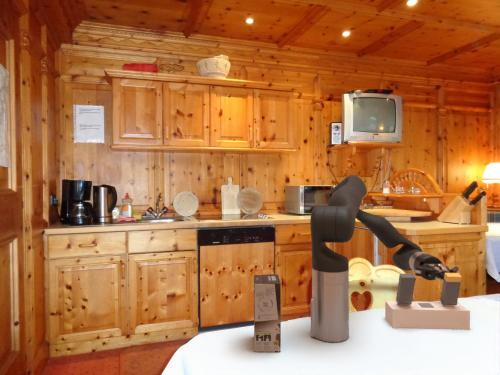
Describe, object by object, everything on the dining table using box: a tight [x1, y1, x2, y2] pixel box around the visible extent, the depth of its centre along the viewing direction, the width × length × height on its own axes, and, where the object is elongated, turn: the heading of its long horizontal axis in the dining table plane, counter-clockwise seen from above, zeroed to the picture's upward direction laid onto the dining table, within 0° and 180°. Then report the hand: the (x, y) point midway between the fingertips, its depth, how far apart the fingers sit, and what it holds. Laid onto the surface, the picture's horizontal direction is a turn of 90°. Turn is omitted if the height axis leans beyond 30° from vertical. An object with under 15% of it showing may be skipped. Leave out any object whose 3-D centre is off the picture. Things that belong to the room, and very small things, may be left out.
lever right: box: [439, 272, 462, 305], centre depth 101 cm, size 4×2×9 cm, turn 86°
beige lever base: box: [384, 300, 471, 330], centre depth 103 cm, size 20×7×5 cm, turn 85°
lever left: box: [395, 273, 417, 305], centre depth 101 cm, size 4×2×9 cm, turn 86°
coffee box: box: [253, 273, 282, 353], centre depth 91 cm, size 9×6×16 cm
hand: (450, 278), depth 101 cm, fingers closed
